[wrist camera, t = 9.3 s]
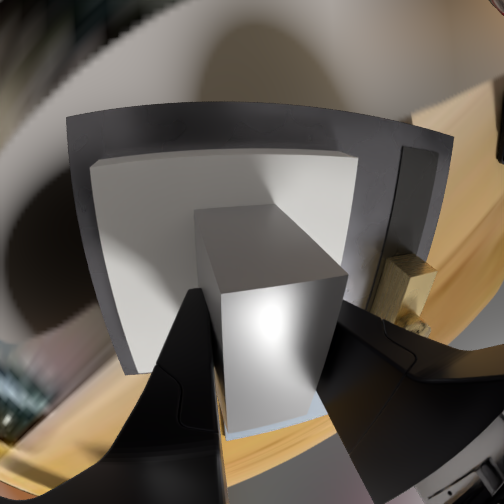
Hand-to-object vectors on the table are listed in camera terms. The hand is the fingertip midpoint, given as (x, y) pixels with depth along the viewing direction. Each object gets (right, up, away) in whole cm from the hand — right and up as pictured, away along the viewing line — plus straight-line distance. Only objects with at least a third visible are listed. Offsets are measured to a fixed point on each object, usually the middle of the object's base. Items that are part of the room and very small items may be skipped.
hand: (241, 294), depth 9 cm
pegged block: (+8, -2, +6) cm, 9 cm away
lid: (-1, +1, +2) cm, 2 cm away
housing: (+1, +3, +5) cm, 6 cm away
